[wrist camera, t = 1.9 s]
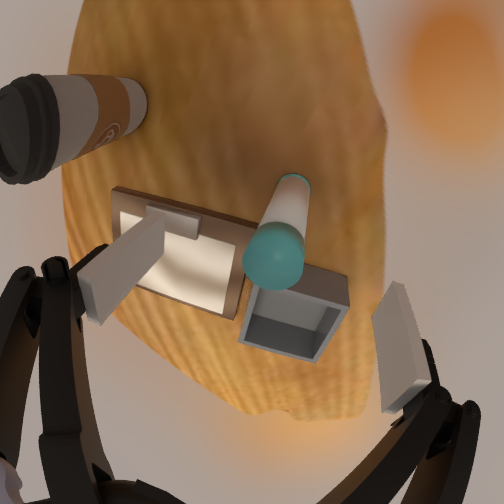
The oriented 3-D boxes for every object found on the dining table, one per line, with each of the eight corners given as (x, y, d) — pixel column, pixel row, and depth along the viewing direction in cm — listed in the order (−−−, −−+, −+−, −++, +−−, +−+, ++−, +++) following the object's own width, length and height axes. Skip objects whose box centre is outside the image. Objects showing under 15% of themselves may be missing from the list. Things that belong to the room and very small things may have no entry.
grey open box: (264, 251, 29) (254, 279, 25) (347, 276, 29) (349, 307, 25) (247, 312, 34) (237, 342, 30) (317, 332, 34) (315, 363, 30)
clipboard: (117, 186, 29) (106, 192, 28) (257, 223, 28) (253, 232, 26) (121, 273, 36) (113, 281, 35) (235, 314, 35) (231, 325, 33)
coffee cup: (120, 157, 27) (12, 212, 15) (87, 104, 25) (-22, 134, 12) (172, 111, 24) (49, 140, 11) (133, 54, 21) (10, 53, 8)
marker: (281, 168, 25) (248, 230, 14) (315, 178, 24) (311, 249, 14) (273, 200, 26) (237, 280, 16) (305, 209, 26) (293, 297, 15)
